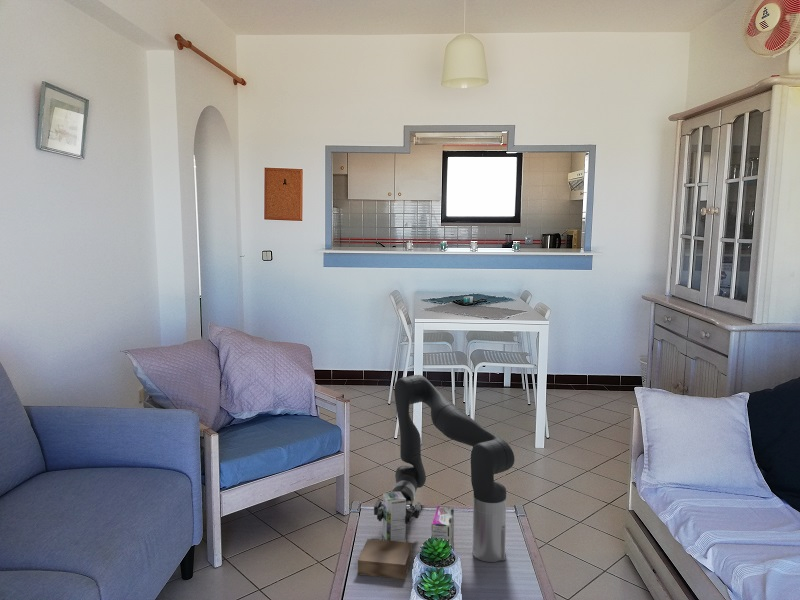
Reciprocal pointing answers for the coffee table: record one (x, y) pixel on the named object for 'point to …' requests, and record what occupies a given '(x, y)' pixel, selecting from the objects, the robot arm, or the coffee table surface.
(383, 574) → the walnut riser
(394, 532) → the syrup box
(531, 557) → the coffee table surface
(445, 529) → the candy bar box
